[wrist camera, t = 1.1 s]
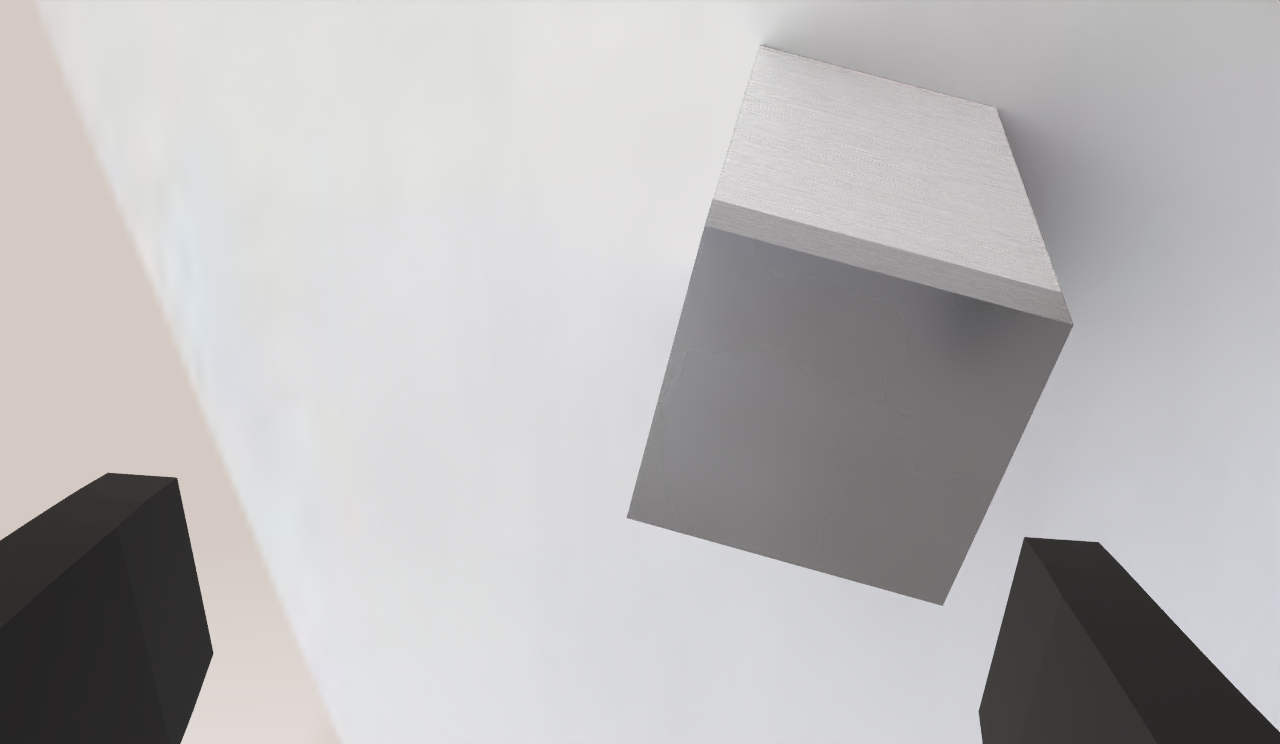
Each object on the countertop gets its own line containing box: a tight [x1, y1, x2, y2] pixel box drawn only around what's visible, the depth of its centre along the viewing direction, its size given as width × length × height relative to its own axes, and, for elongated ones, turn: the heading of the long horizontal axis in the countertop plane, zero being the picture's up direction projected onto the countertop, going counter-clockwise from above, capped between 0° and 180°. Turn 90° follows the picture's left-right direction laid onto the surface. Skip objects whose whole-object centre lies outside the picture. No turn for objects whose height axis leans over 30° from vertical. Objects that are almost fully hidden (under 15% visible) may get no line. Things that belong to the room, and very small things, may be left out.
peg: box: [627, 45, 1073, 606], centre depth 17 cm, size 4×4×8 cm
